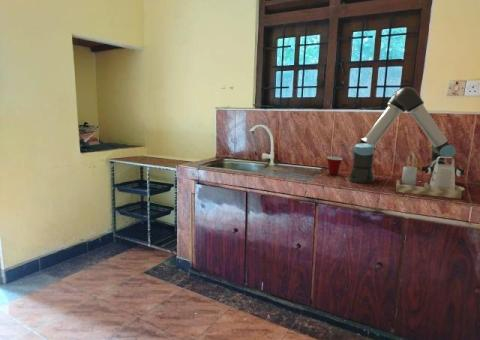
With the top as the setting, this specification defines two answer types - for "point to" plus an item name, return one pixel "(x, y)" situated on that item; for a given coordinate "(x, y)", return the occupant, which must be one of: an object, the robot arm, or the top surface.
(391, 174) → the top surface
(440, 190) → the rack
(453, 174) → the grater
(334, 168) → the plastic cup
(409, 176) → the utensil crock
